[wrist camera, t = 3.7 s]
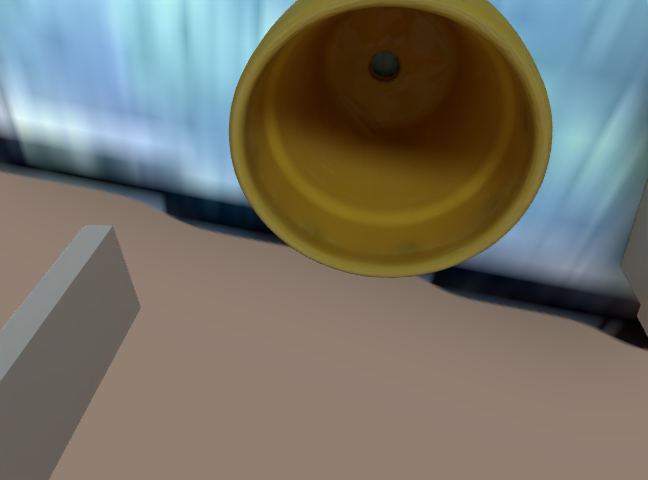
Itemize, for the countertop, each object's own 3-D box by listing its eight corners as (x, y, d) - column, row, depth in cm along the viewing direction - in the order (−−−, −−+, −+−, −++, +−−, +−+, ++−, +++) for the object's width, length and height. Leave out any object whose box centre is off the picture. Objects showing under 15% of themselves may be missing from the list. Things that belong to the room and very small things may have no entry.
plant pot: (313, 176, 30) (284, 300, 22) (245, -27, 24) (173, 40, 16) (513, 136, 27) (562, 259, 19) (490, -102, 22) (546, -64, 14)
